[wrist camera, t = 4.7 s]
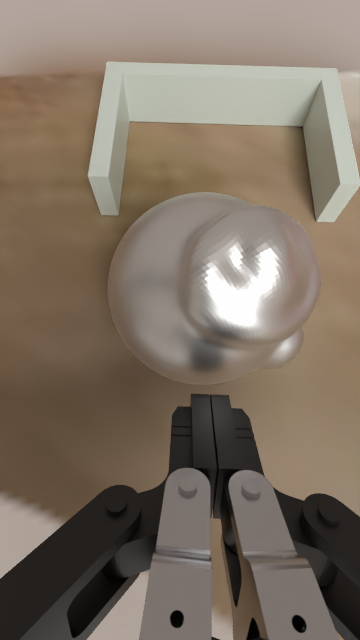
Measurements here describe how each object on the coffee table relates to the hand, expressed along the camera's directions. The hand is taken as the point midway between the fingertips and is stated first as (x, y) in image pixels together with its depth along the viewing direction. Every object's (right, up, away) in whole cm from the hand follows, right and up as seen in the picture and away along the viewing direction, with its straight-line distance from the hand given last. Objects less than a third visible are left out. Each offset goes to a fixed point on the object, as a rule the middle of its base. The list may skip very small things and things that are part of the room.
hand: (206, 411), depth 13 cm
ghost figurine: (0, +3, +7) cm, 7 cm away
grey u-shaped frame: (+2, +15, +11) cm, 19 cm away
